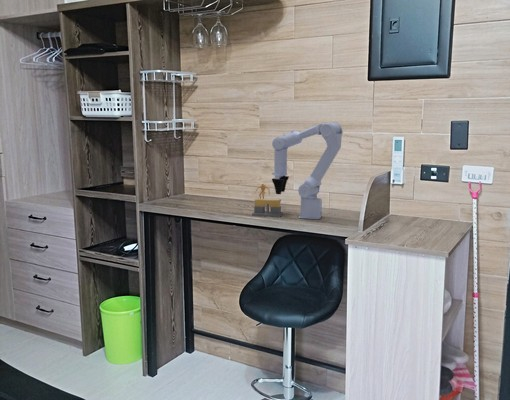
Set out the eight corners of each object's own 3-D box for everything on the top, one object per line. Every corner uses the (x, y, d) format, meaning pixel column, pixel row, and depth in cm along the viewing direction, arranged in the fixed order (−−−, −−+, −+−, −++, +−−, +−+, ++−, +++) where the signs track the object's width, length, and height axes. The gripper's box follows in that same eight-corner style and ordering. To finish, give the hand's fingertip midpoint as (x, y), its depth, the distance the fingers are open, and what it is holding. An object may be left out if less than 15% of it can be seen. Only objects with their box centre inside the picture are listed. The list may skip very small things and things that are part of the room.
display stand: (256, 212, 243) (256, 202, 242) (283, 214, 239) (283, 203, 239) (251, 215, 236) (251, 205, 235) (279, 217, 233) (279, 206, 232)
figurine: (251, 208, 254) (251, 184, 252) (257, 206, 259) (257, 182, 257) (266, 209, 250) (266, 185, 248) (272, 207, 255) (272, 183, 253)
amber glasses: (257, 204, 242) (257, 198, 241) (281, 205, 239) (281, 199, 238) (254, 206, 238) (254, 199, 237) (279, 207, 235) (279, 200, 234)
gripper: (275, 161, 244) (275, 190, 247) (268, 164, 230) (268, 194, 233) (290, 162, 242) (290, 190, 245) (283, 165, 229) (283, 195, 231)
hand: (280, 192), depth 239 cm, fingers open, 7 cm apart
